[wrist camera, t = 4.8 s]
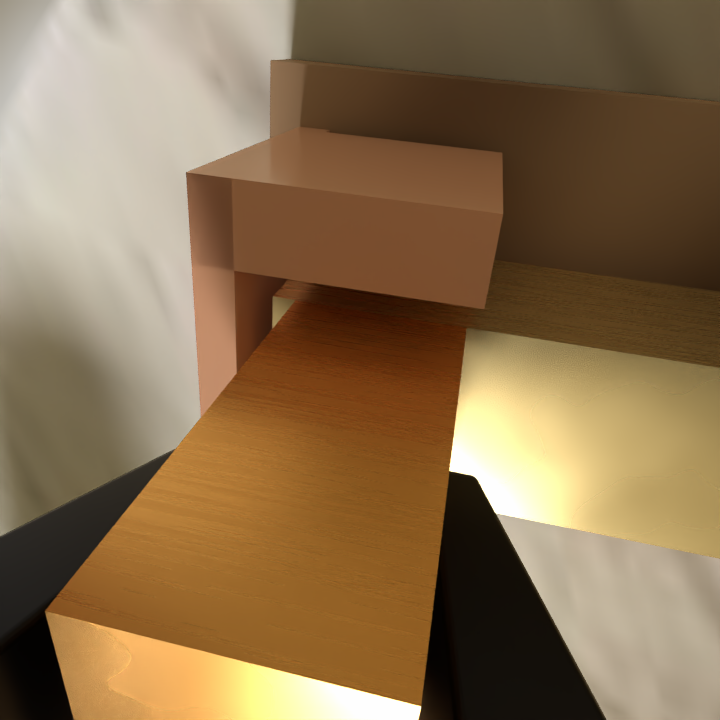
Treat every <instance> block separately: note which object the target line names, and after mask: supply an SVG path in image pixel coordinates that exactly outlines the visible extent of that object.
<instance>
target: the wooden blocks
mask: <svg viewBox="0 0 720 720" xmlns="http://www.w3.org/2000/svg"><path fill="white" fill-rule="evenodd" d="M449 471H453V472H458V473H463V474H468V475H472V476H474V477H476V478H477V480H478V481H479V483H480V485H481V487H482V489H483V491H484V493H485V494H486V496H487V498H488V500H489V502H490V504H491V506H492V507H493V509H494V511H495V513H498V514H503V515H508V516H513V517H518V518H523V519H528V520H533V521H537V522H542V523H547V524H552V525H557V526H562V527H567V528H572V529H577V530H582V531H587V532H592V533H597V534H601V535H606V536H611V537H616V538H621V539H626V540H631V541H636V542H641V543H646V544H651V545H656V546H661V547H665V548H670V549H675V550H680V551H685V552H690V553H695V554H700V555H705V556H710V557H715V558H720V292H717V291H710V290H703V289H696V288H689V287H682V286H675V285H668V284H661V283H654V282H647V281H640V280H633V279H626V278H619V277H612V276H605V275H598V274H591V273H584V272H577V271H570V270H563V269H556V268H549V267H542V266H535V265H528V264H521V263H514V262H507V261H500V260H494V263H493V268H492V273H491V278H490V283H489V288H488V293H487V298H486V303H485V308H484V309H478V308H472V307H466V306H459V305H453V304H446V303H440V302H433V301H427V300H420V299H414V298H407V297H401V296H394V295H388V294H381V293H375V292H369V291H362V290H356V289H349V288H343V287H336V286H330V285H323V284H317V283H310V282H304V281H297V280H291V279H288V280H287V281H286V282H285V284H284V285H283V286H282V287H281V288H280V289H279V290H278V291H277V292H276V293H275V295H274V296H273V319H272V330H271V331H270V333H269V334H268V335H267V336H266V337H265V339H264V340H263V341H262V342H261V344H260V345H259V346H258V347H257V349H256V350H255V351H254V352H253V354H252V355H251V356H250V357H249V359H248V360H247V361H246V362H245V364H244V365H243V366H242V367H241V368H240V370H239V371H238V372H237V373H236V375H235V376H234V377H233V378H232V380H231V381H230V382H229V383H228V385H227V386H226V387H225V388H224V390H223V391H222V392H221V393H220V395H219V396H218V397H217V398H216V399H215V401H214V402H213V403H212V404H211V406H210V407H209V408H208V409H207V411H206V412H205V413H204V414H203V416H202V417H201V418H200V419H199V421H198V422H197V423H196V424H195V426H194V427H193V428H192V429H191V431H190V432H189V433H188V434H187V435H186V437H185V438H184V439H183V440H182V442H181V443H180V444H179V445H178V447H177V448H176V449H175V450H174V452H173V453H172V454H171V455H170V457H169V458H168V459H167V460H166V462H165V463H164V464H163V465H162V466H161V468H160V469H159V470H158V471H157V473H156V474H155V475H154V476H153V478H152V479H151V480H150V481H149V483H148V484H147V485H146V486H145V488H144V489H143V490H142V491H141V493H140V494H139V495H138V496H137V497H136V499H135V500H134V501H133V502H132V504H131V505H130V506H129V507H128V509H127V510H126V511H125V512H124V514H123V515H122V516H121V517H120V519H119V520H118V521H117V522H116V524H115V525H114V526H113V527H112V528H111V530H110V531H109V532H108V533H107V535H106V536H105V537H104V538H103V540H102V541H101V542H100V543H99V545H98V546H97V547H96V548H95V550H94V551H93V552H92V553H91V555H90V556H89V557H88V558H87V559H86V561H85V562H84V563H83V564H82V566H81V567H80V568H79V569H78V571H77V572H76V573H75V574H74V576H73V577H72V578H71V579H70V581H69V582H68V583H67V584H66V586H65V587H64V588H63V589H62V590H61V592H60V593H59V594H58V595H57V597H56V598H55V599H54V600H53V602H52V603H51V604H50V605H49V607H48V608H47V609H46V610H45V613H46V617H47V621H48V625H49V628H50V632H51V636H52V640H53V644H54V647H55V651H56V655H57V659H58V662H59V666H60V670H61V674H62V677H63V681H64V685H65V689H66V692H67V696H68V700H69V704H70V707H71V711H72V715H73V719H74V720H418V718H419V714H420V709H421V703H422V695H423V686H424V678H425V670H426V661H427V653H428V645H429V637H430V628H431V620H432V612H433V603H434V595H435V587H436V579H437V570H438V562H439V554H440V546H441V537H442V529H443V521H444V512H445V504H446V496H447V488H448V479H449Z"/></svg>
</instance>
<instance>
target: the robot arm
mask: <svg viewBox="0 0 720 720" xmlns="http://www.w3.org/2000/svg"><path fill="white" fill-rule="evenodd" d="M174 450H175V449H174ZM174 450H172V451H170V452H168V453H166V454H164V455H162V456H160V457H158V458H156V459H154V460H152V461H150V462H148V463H146V464H144V465H142V466H140V467H138V468H136V469H134V470H132V471H130V472H128V473H126V474H124V475H122V476H120V477H118V478H116V479H114V480H112V481H110V482H108V483H106V484H104V485H102V486H100V487H98V488H96V489H94V490H92V491H90V492H88V493H86V494H84V495H82V496H80V497H78V498H76V499H74V500H72V501H70V502H68V503H66V504H64V505H62V506H60V507H58V508H56V509H54V510H52V511H50V512H48V513H46V514H44V515H42V516H40V517H38V518H36V519H34V520H32V521H30V522H28V523H26V524H24V525H22V526H20V527H18V528H16V529H14V530H12V531H10V532H8V533H6V534H4V535H2V536H0V720H74V719H73V715H72V711H71V707H70V704H69V700H68V696H67V692H66V689H65V685H64V681H63V677H62V674H61V670H60V666H59V662H58V659H57V655H56V651H55V647H54V644H53V640H52V636H51V632H50V628H49V625H48V621H47V617H46V613H45V610H46V609H47V608H48V607H49V605H50V604H51V603H52V602H53V600H54V599H55V598H56V597H57V595H58V594H59V593H60V592H61V590H62V589H63V588H64V587H65V586H66V584H67V583H68V582H69V581H70V579H71V578H72V577H73V576H74V574H75V573H76V572H77V571H78V569H79V568H80V567H81V566H82V564H83V563H84V562H85V561H86V559H87V558H88V557H89V556H90V555H91V553H92V552H93V551H94V550H95V548H96V547H97V546H98V545H99V543H100V542H101V541H102V540H103V538H104V537H105V536H106V535H107V533H108V532H109V531H110V530H111V528H112V527H113V526H114V525H115V524H116V522H117V521H118V520H119V519H120V517H121V516H122V515H123V514H124V512H125V511H126V510H127V509H128V507H129V506H130V505H131V504H132V502H133V501H134V500H135V499H136V497H137V496H138V495H139V494H140V493H141V491H142V490H143V489H144V488H145V486H146V485H147V484H148V483H149V481H150V480H151V479H152V478H153V476H154V475H155V474H156V473H157V471H158V470H159V469H160V468H161V466H162V465H163V464H164V463H165V462H166V460H167V459H168V458H169V457H170V455H171V454H172V453H173V452H174ZM418 720H606V718H605V716H604V714H603V712H602V710H601V708H600V707H599V705H598V703H597V701H596V699H595V697H594V695H593V694H592V692H591V690H590V688H589V686H588V684H587V682H586V681H585V679H584V677H583V675H582V673H581V671H580V669H579V668H578V666H577V664H576V662H575V660H574V658H573V656H572V654H571V653H570V651H569V649H568V647H567V645H566V643H565V641H564V640H563V638H562V636H561V634H560V632H559V630H558V628H557V627H556V625H555V623H554V621H553V619H552V617H551V615H550V614H549V612H548V610H547V608H546V606H545V604H544V602H543V601H542V599H541V597H540V595H539V593H538V591H537V589H536V587H535V586H534V584H533V582H532V580H531V578H530V576H529V574H528V573H527V571H526V569H525V567H524V565H523V563H522V561H521V560H520V558H519V556H518V554H517V552H516V550H515V548H514V547H513V545H512V543H511V541H510V539H509V537H508V535H507V533H506V532H505V530H504V528H503V526H502V524H501V522H500V520H499V519H498V517H497V515H496V513H495V511H494V509H493V507H492V506H491V504H490V502H489V500H488V498H487V496H486V494H485V493H484V491H483V489H482V487H481V485H480V483H479V481H478V480H477V478H476V477H474V476H472V475H468V474H463V473H458V472H453V471H449V479H448V488H447V496H446V504H445V512H444V521H443V529H442V537H441V546H440V554H439V562H438V570H437V579H436V587H435V595H434V603H433V612H432V620H431V628H430V637H429V645H428V653H427V661H426V670H425V678H424V686H423V695H422V703H421V709H420V714H419V718H418Z"/></svg>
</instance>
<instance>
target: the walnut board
mask: <svg viewBox="0 0 720 720" xmlns="http://www.w3.org/2000/svg"><path fill="white" fill-rule="evenodd" d="M298 127H307V128H316V129H325V130H330V133H338V134H347V135H355V136H364V137H372V138H381V139H390V140H398V141H407V142H415V143H424V144H433V145H441V146H450V147H458V148H467V149H475V150H484V151H493V152H501V153H502V163H503V217H502V222H501V228H500V233H499V238H498V243H497V248H496V253H495V258H494V260H500V261H507V262H514V263H521V264H528V265H535V266H542V267H549V268H556V269H563V270H570V271H577V272H584V273H591V274H598V275H605V276H612V277H619V278H626V279H633V280H640V281H647V282H654V283H661V284H668V285H675V286H682V287H689V288H696V289H703V290H710V291H717V292H720V102H717V101H707V100H697V99H687V98H677V97H667V96H657V95H646V94H636V93H626V92H616V91H606V90H596V89H586V88H576V87H566V86H556V85H546V84H536V83H525V82H515V81H505V80H495V79H485V78H475V77H465V76H455V75H445V74H435V73H425V72H414V71H404V70H394V69H384V68H374V67H364V66H354V65H344V64H334V63H324V62H314V61H303V60H293V59H286V60H271V80H270V138H273V137H275V136H278V135H280V134H283V133H285V132H288V131H290V130H293V129H295V128H298Z"/></svg>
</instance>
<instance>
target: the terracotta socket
mask: <svg viewBox="0 0 720 720" xmlns="http://www.w3.org/2000/svg"><path fill="white" fill-rule="evenodd" d="M186 178H187V194H188V211H189V227H190V243H191V260H192V276H193V293H194V309H195V325H196V342H197V358H198V375H199V391H200V407H201V417H202V416H203V414H204V413H205V412H206V411H207V409H208V408H209V407H210V406H211V404H212V403H213V402H214V401H215V399H216V398H217V397H218V396H219V395H220V393H221V392H222V391H223V390H224V388H225V387H226V386H227V385H228V383H229V382H230V381H231V380H232V378H233V377H234V376H235V375H236V373H237V372H238V371H239V370H240V368H241V367H242V366H243V365H244V364H245V362H246V361H247V360H248V359H249V357H250V356H251V355H252V354H253V352H254V351H255V350H256V349H257V347H258V346H259V345H260V344H261V342H262V341H263V340H264V339H265V337H266V336H267V335H268V334H269V333H270V331H271V330H272V319H273V296H274V295H275V293H276V292H277V291H278V290H279V289H280V288H281V287H282V286H283V285H284V284H285V282H286V281H287V280H288V279H291V280H297V281H304V282H310V283H317V284H323V285H330V286H336V287H343V288H349V289H356V290H362V291H369V292H375V293H381V294H388V295H394V296H401V297H407V298H414V299H420V300H427V301H433V302H440V303H446V304H453V305H459V306H466V307H472V308H478V309H484V308H485V303H486V298H487V293H488V288H489V283H490V278H491V273H492V268H493V263H494V258H495V253H496V248H497V243H498V238H499V233H500V228H501V222H502V217H503V163H502V153H501V152H493V151H484V150H475V149H467V148H458V147H450V146H441V145H433V144H424V143H415V142H407V141H398V140H390V139H381V138H372V137H364V136H355V135H347V134H338V133H330V130H325V129H316V128H307V127H298V128H295V129H293V130H290V131H288V132H285V133H283V134H280V135H278V136H275V137H273V138H270V139H268V140H265V141H263V142H260V143H258V144H255V145H253V146H250V147H248V148H245V149H243V150H240V151H238V152H235V153H233V154H230V155H228V156H226V157H223V158H221V159H218V160H216V161H213V162H211V163H208V164H206V165H203V166H201V167H198V168H196V169H193V170H191V171H188V172H186Z"/></svg>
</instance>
